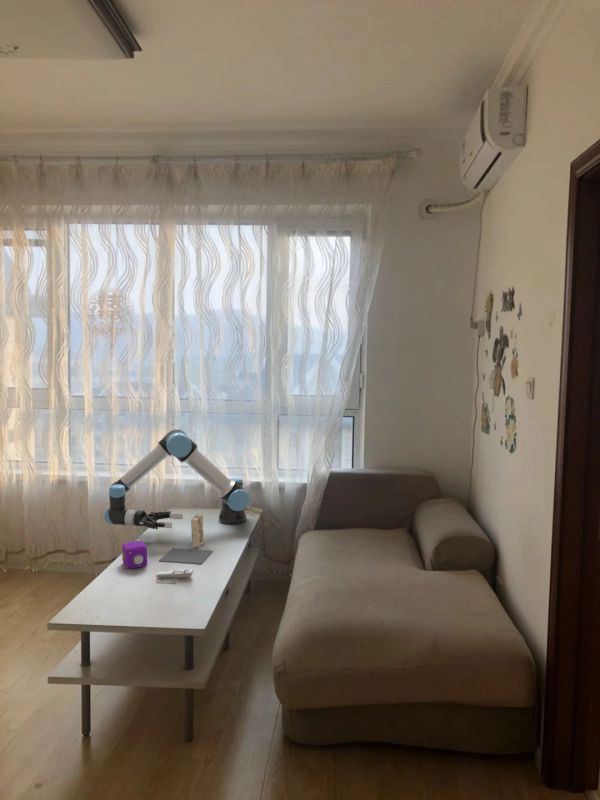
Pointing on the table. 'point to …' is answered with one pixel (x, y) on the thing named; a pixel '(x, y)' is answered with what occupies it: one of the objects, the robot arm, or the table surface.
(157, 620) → the table surface
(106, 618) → the table surface
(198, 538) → the tile
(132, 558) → the toy camera
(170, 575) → the table surface
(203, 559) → the mat
